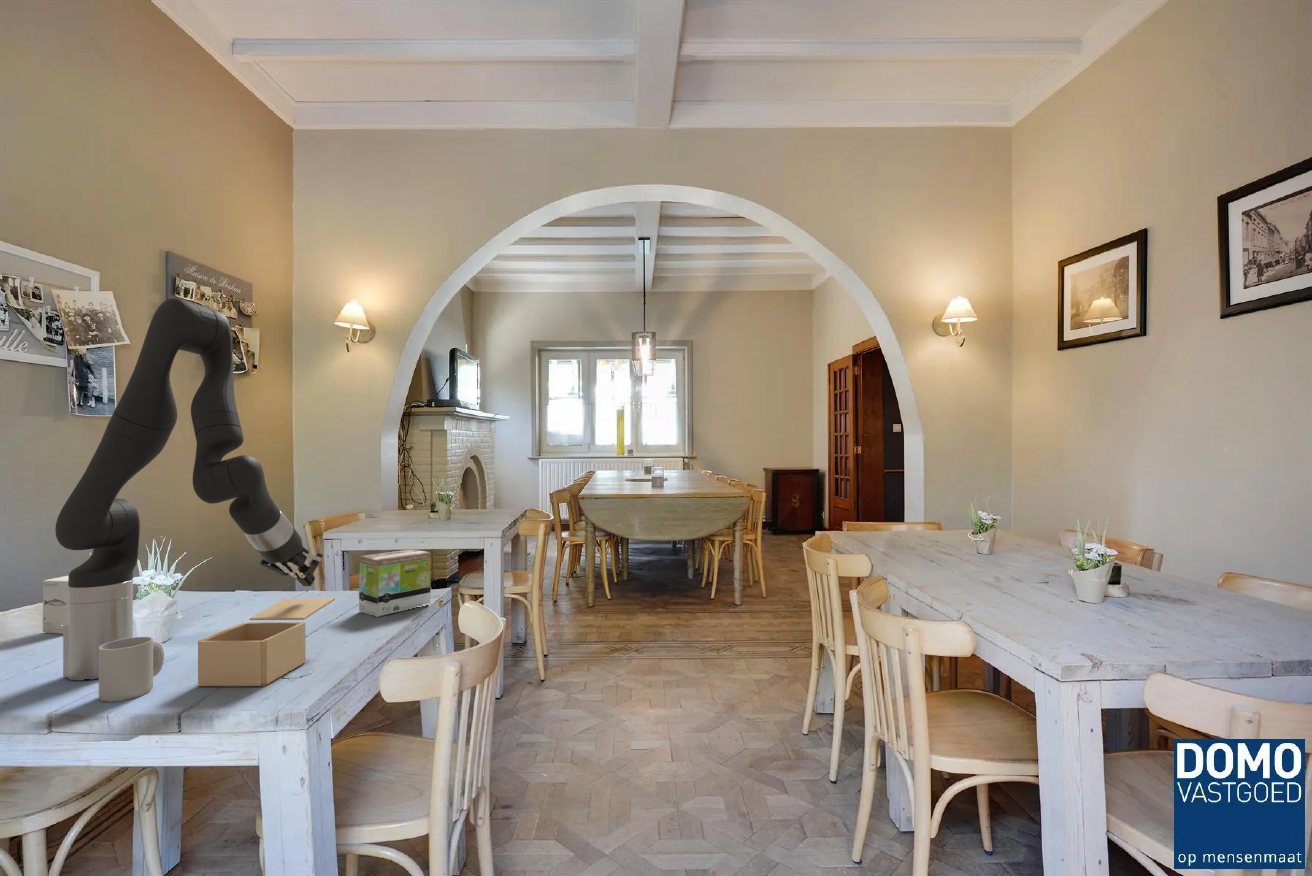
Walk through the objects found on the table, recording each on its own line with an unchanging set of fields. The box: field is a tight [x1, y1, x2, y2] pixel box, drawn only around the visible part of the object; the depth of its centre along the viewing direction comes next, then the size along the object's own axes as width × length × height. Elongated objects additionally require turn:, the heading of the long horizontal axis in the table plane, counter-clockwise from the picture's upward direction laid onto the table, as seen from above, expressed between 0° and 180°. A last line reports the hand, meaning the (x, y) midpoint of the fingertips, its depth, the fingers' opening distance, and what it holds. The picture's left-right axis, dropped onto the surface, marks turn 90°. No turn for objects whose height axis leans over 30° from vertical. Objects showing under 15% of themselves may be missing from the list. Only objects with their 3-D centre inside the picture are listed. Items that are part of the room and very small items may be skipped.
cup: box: [98, 636, 165, 703], centre depth 108 cm, size 7×10×9 cm
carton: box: [197, 621, 306, 688], centre depth 115 cm, size 13×12×8 cm
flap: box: [249, 597, 336, 621], centre depth 127 cm, size 11×1×11 cm
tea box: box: [358, 548, 432, 618], centre depth 162 cm, size 15×10×15 cm
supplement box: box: [42, 575, 69, 634], centre depth 147 cm, size 7×7×13 cm
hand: (309, 582), depth 133 cm, fingers closed
